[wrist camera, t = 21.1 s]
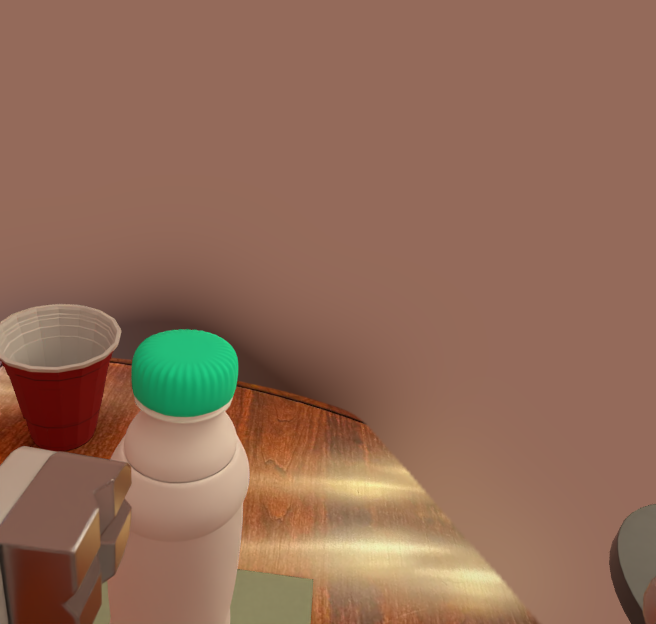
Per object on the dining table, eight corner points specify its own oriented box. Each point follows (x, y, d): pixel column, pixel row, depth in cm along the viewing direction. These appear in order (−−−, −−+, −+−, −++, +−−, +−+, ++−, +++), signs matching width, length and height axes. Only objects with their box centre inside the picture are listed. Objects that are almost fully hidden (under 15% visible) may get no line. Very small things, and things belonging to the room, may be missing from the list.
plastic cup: (-5, 481, 48) (-20, 366, 42) (6, 408, 56) (-6, 305, 51) (126, 462, 52) (126, 356, 47) (117, 397, 61) (116, 302, 56)
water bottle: (240, 708, 34) (293, 374, 24) (125, 771, 30) (127, 406, 20) (200, 614, 39) (228, 305, 29) (97, 658, 35) (87, 321, 25)
